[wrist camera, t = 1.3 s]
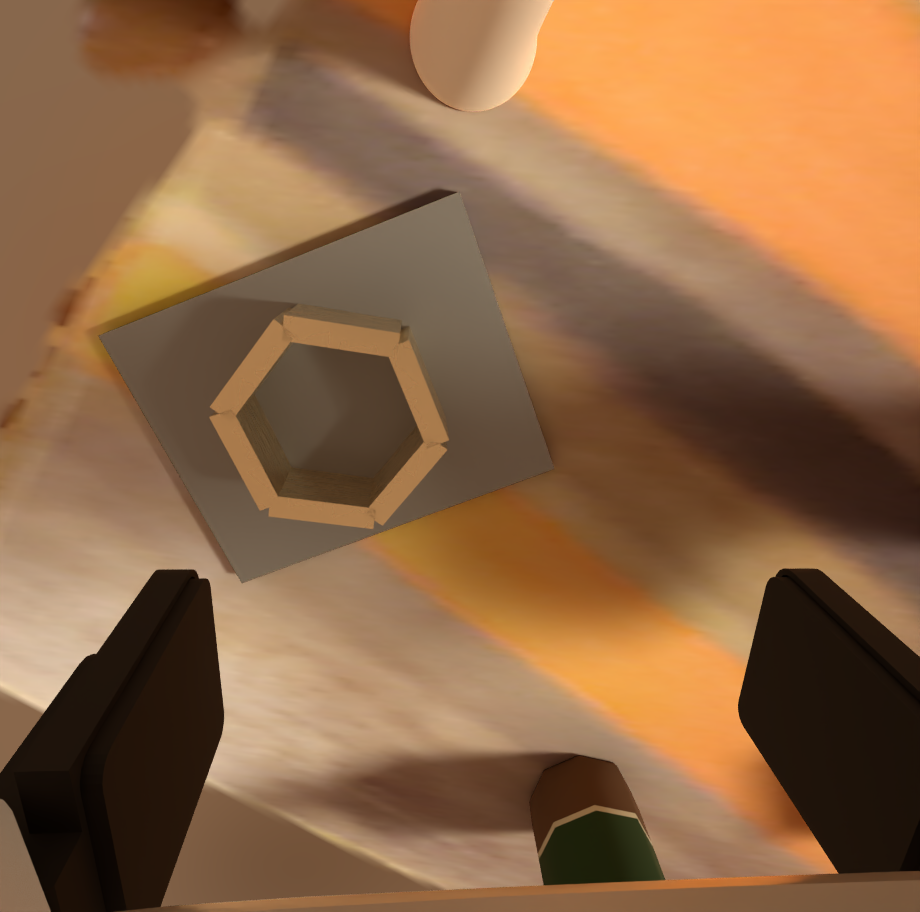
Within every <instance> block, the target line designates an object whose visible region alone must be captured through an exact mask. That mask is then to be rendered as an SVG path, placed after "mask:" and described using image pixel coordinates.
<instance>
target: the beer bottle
mask: <svg viewBox="0 0 920 912" xmlns="http://www.w3.org/2000/svg"><path fill="white" fill-rule="evenodd" d="M529 803H530V811H531V819H532V826H533V831H534V836H535V841H536V847H537V852H538V857H539V862H540V868H541V873H542V878H543V883H544V885H565V884H588V883H611V882H635V881H659V880H665V878H664V875H663V873H662V870H661V867H660V865H659V862H658V859H657V857H656V854H655V851H654V849H653V846H652V843H651V841H650V838H649V835H648V833H647V830H646V827H645V825H644V822H643V819H642V817H641V814H640V811H639V809H638V807H637V805H636V802H635V800H634V798H633V796H632V793H631V791H630V789H629V787H628V786H627V784H626V782H625V780H624V778H623V776H622V775H621V773H620V771H619V769H618V767H617V766H616V765H615V764H614V763H611V762H607V761H602V760H598V759H593V758H588V757H584V756H576V757H574V758H572V759H569V760H567V761H565V762H562V763H560V764H558V765H555V766H553V767H551V768H548V769H546V770H544V772H543V774H542V776H541V778H540V780H539V782H538V784H537V787H536V789H535V791H534V793H533V795H532V797H531V800H530V802H529Z"/></svg>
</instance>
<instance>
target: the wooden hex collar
mask: <svg viewBox="0 0 920 912" xmlns="http://www.w3.org/2000/svg"><path fill="white" fill-rule="evenodd" d="M401 323H402V320H398V319H392V318H385V317H379V316H373V315H367V314H360V313H354V312H348V311H342V310H335V309H329V308H323V307H317V306H310V305H304V304H297V305H296V306H295V307H293V308H292V309H291V308H287V309H286V310H285V311H284V312H282V313H281V314H280V315H278V316H277V317H276V318H274V319H273V321H272V322H271V323H270V325H269V326H268V327H267V329H266V330H265V332H264V333H263V334H262V336H261V337H260V338H259V340H258V341H257V343H256V344H255V345H254V347H253V348H252V349H251V351H250V352H249V354H248V355H247V356H246V358H245V359H244V360H243V362H242V363H241V365H240V366H239V367H238V369H237V370H236V371H235V373H234V374H233V376H232V377H231V378H230V380H229V381H228V382H227V384H226V385H225V387H224V388H223V389H222V391H221V392H220V393H219V395H218V396H217V398H216V399H215V400H214V402H213V403H212V404H211V406H210V408H212V409H213V410H215V412H214V413H213V414H212V415H211V416H210V417H209V418H210V420H211V422H212V423H213V425H214V427H215V429H216V431H217V433H218V435H219V436H220V438H221V440H222V442H223V444H224V446H225V447H226V449H227V451H228V453H229V455H230V457H231V458H232V460H233V462H234V464H235V466H236V468H237V470H238V471H239V473H240V475H241V477H242V479H243V481H244V482H245V484H246V486H247V488H248V490H249V492H250V494H251V495H252V497H253V499H254V501H255V503H256V505H257V506H258V508H259V510H260V511H261V510H264V509H266V508H269V517H277V518H285V519H293V520H301V521H310V522H318V523H326V524H335V525H343V526H351V527H359V528H368V529H373V527H374V520H375V521H376V522H378V523H379V524H381V525H382V526H383V525H384V523H385V522H386V521H387V520H388V519H389V518H390V516H391V515H392V514H393V513H394V512H395V511H396V509H397V508H398V507H399V506H400V505H401V504H402V502H403V501H404V500H405V499H406V498H407V497H408V495H409V494H410V493H411V492H412V491H413V490H414V488H415V487H416V486H417V485H418V484H419V483H420V481H421V480H422V479H423V478H424V477H425V476H426V474H427V473H428V472H429V471H430V470H431V469H432V467H433V466H434V465H435V464H436V463H437V462H438V460H439V459H440V458H441V457H442V456H443V455H444V453H445V452H446V451H447V443H446V441H449V436H448V429H447V423H446V417H445V414H444V411H443V409H442V406H441V404H440V401H439V399H438V396H437V394H436V391H435V389H434V386H433V384H432V381H431V379H430V376H429V374H428V371H427V369H426V366H425V364H424V361H423V359H422V356H421V354H420V351H419V349H418V346H417V344H416V341H415V339H414V336H413V334H412V331H411V329H410V326H409V327H407V328H404V329H401ZM293 342H294V343H301V344H307V345H314V346H320V347H327V348H333V349H340V350H346V351H353V352H359V353H366V354H373V355H379V356H386V357H389V359H390V361H391V364H392V366H393V369H394V371H395V373H396V376H397V378H398V380H399V383H400V385H401V388H402V390H403V392H404V395H405V397H406V400H407V402H408V404H409V407H410V409H411V412H412V414H413V416H414V419H415V421H416V424H417V426H416V427H415V428H414V430H413V431H412V432H411V433H410V434H409V436H408V437H407V438H406V439H405V440H404V442H403V443H402V444H401V445H400V446H399V448H398V449H397V450H396V451H395V452H394V454H393V455H392V456H391V457H390V458H389V460H388V461H387V462H386V463H385V464H384V466H383V467H382V468H381V469H380V470H379V472H378V473H377V474H376V475H375V476H374V478H368V477H360V476H353V475H345V474H337V473H330V472H322V471H314V470H307V469H299V468H292V467H291V465H290V463H289V461H288V459H287V457H286V455H285V453H284V451H283V449H282V447H281V445H280V443H279V441H278V439H277V437H276V436H275V434H274V432H273V430H272V428H271V426H270V424H269V422H268V420H267V418H266V416H265V414H264V412H263V410H262V408H261V406H260V404H259V402H258V400H257V398H256V396H255V393H256V392H257V390H258V389H259V388H260V386H261V385H262V384H263V382H264V381H265V379H266V378H267V377H268V375H269V374H270V373H271V371H272V370H273V369H274V367H275V366H276V365H277V363H278V362H279V361H280V359H281V358H282V357H283V355H284V354H285V353H286V351H287V350H288V349H289V347H290V346H291V345H292V343H293Z"/></svg>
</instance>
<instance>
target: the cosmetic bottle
mask: <svg viewBox="0 0 920 912" xmlns="http://www.w3.org/2000/svg"><path fill="white" fill-rule="evenodd" d="M553 1H554V0H418V2H417V4H416V6H415V9H414V12H413V15H412V20H411V25H410V49H411V54H412V59H413V62H414V65H415V68H416V70H417V73H418V75H419V77H420V78H421V80H422V82H423V83H424V85H425V86H426V87H427V89H428V90H429V91H430V92H431V93H432V94H433V95H434V96H435V97H436V98H437V99H439V100H440V101H441V102H443V103H445V104H446V105H448V106H450V107H452V108H455V109H458V110H462V111H468V112H478V111H485V110H489V109H492V108H495V107H497V106H499V105H501V104H503V103H504V102H506V101H507V100H508V99H510V98H511V97H512V96H513V95H514V94H515V93H516V92H517V91H518V90H519V89H520V88H521V86H522V85H523V83H524V82H525V80H526V79H527V77H528V75H529V73H530V70H531V68H532V65H533V62H534V58H535V54H536V47H537V35H538V33H539V30H540V28H541V25H542V23H543V21H544V19H545V17H546V15H547V13H548V11H549V9H550V7H551V5H552V3H553Z"/></svg>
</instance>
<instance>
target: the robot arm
mask: <svg viewBox="0 0 920 912" xmlns="http://www.w3.org/2000/svg"><path fill="white" fill-rule="evenodd" d="M738 712H739V717H740V720H741V723H742V725H743V726H744V728H745V730H746V731H747V733H748V734H749V736H750V737H751V739H752V740H753V742H754V743H755V745H756V747H757V748H758V750H759V751H760V753H761V754H762V756H763V757H764V759H765V760H766V762H767V764H768V765H769V767H770V768H771V770H772V771H773V773H774V774H775V776H776V777H777V779H778V781H779V782H780V784H781V785H782V787H783V788H784V790H785V791H786V793H787V794H788V796H789V798H790V799H791V801H792V802H793V804H794V805H795V807H796V808H797V810H798V811H799V813H800V815H801V816H802V818H803V819H804V821H805V822H806V824H807V825H808V827H809V828H810V830H811V831H812V833H813V835H814V836H815V838H816V839H817V841H818V842H819V844H820V845H821V847H822V848H823V850H824V852H825V853H826V855H827V856H828V858H829V859H830V861H831V862H832V864H833V865H834V867H835V869H836V870H837V872H838V873H839V874H816V875H788V876H760V877H733V878H708V879H684V880H659V881H635V882H611V883H588V884H565V885H542V886H519V887H497V888H476V889H456V890H435V891H415V892H394V893H374V894H353V895H333V896H313V897H297V898H281V899H266V900H252V901H236V902H220V903H205V904H191V905H176V906H166V907H160V906H161V904H162V901H163V898H164V895H165V892H166V890H167V887H168V883H169V881H170V878H171V876H172V873H173V870H174V867H175V864H176V862H177V859H178V856H179V853H180V850H181V848H182V845H183V842H184V839H185V836H186V833H187V831H188V828H189V825H190V822H191V820H192V816H193V814H194V811H195V808H196V806H197V802H198V800H199V797H200V794H201V792H202V789H203V786H204V783H205V780H206V778H207V775H208V772H209V769H210V766H211V764H212V761H213V758H214V755H215V752H216V750H217V747H218V744H219V741H220V738H221V735H222V731H223V724H224V708H223V698H222V689H221V680H220V671H219V661H218V652H217V643H216V633H215V624H214V615H213V606H212V596H211V587H210V583H209V580H208V579H199V577H198V574H197V572H196V571H195V570H156V571H155V572H154V573H153V574H152V576H151V577H150V579H149V580H148V582H147V583H146V584H145V586H144V587H143V589H142V590H141V591H140V593H139V594H138V596H137V597H136V599H135V600H134V601H133V603H132V604H131V606H130V607H129V609H128V610H127V611H126V613H125V614H124V616H123V617H122V618H121V620H120V621H119V623H118V624H117V626H116V627H115V628H114V630H113V631H112V633H111V634H110V635H109V637H108V638H107V640H106V641H105V643H104V644H103V645H102V647H101V648H100V650H99V651H98V653H97V654H92V655H89V656H87V657H86V658H85V659H84V660H83V661H82V662H81V663H80V664H79V665H78V667H77V668H76V670H75V671H74V672H73V674H72V675H71V676H70V678H69V679H68V681H67V682H66V683H65V685H64V686H63V688H62V689H61V690H60V692H59V693H58V694H57V696H56V697H55V699H54V700H53V701H52V703H51V704H50V705H49V707H48V708H47V710H46V711H45V712H44V714H43V715H42V716H41V718H40V719H39V721H38V722H37V723H36V725H35V726H34V727H33V729H32V730H31V732H30V733H29V735H28V736H27V737H26V738H25V740H24V741H23V743H22V744H21V745H20V747H19V748H18V749H17V751H16V752H15V754H14V755H13V756H12V758H11V759H10V761H9V762H8V763H7V765H6V766H5V767H4V769H3V771H2V772H1V773H0V912H920V657H919V656H918V655H917V654H916V653H914V652H913V651H912V650H911V649H910V648H909V647H908V646H906V645H905V644H904V643H903V642H902V641H901V640H900V639H898V638H897V637H896V636H895V635H894V634H893V633H892V632H890V631H889V630H888V629H887V628H886V627H885V626H884V625H882V624H881V623H880V622H879V621H878V620H877V619H876V618H874V617H873V616H872V615H871V614H870V613H869V612H868V611H866V610H865V609H864V608H863V607H862V606H861V605H860V604H858V603H857V602H856V601H855V600H854V599H853V598H852V597H850V596H849V595H848V594H847V593H846V592H845V591H844V590H842V589H841V588H840V587H839V586H838V585H837V584H836V583H834V582H833V581H832V580H831V579H830V578H829V577H828V576H826V575H825V574H824V573H823V572H822V571H820V570H818V569H782V570H780V571H779V572H778V573H777V574H776V577H772V578H770V579H769V581H768V582H767V585H766V588H765V593H764V597H763V601H762V605H761V609H760V614H759V618H758V622H757V626H756V630H755V635H754V639H753V643H752V647H751V651H750V656H749V660H748V664H747V668H746V672H745V676H744V681H743V685H742V689H741V693H740V697H739V702H738Z"/></svg>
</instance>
